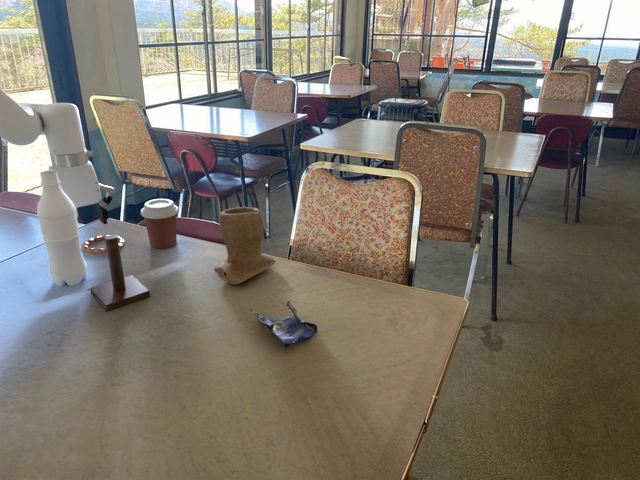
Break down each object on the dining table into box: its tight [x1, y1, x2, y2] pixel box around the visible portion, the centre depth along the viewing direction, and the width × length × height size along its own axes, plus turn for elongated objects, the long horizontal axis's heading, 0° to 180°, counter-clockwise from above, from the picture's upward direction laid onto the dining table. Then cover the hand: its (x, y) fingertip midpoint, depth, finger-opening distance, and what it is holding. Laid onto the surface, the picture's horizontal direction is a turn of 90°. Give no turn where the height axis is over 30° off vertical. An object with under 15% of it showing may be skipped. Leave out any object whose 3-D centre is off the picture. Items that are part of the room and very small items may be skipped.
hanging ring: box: [81, 234, 126, 255], centre depth 122 cm, size 10×10×2 cm
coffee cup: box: [140, 198, 180, 251], centre depth 122 cm, size 9×9×12 cm
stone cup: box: [213, 206, 276, 285], centre depth 110 cm, size 15×12×15 cm
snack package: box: [250, 300, 319, 352], centre depth 90 cm, size 12×6×12 cm
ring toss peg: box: [89, 234, 151, 312], centre depth 99 cm, size 9×9×14 cm
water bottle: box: [36, 170, 88, 287], centre depth 101 cm, size 7×7×25 cm
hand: (83, 227), depth 117 cm, fingers open, 9 cm apart
